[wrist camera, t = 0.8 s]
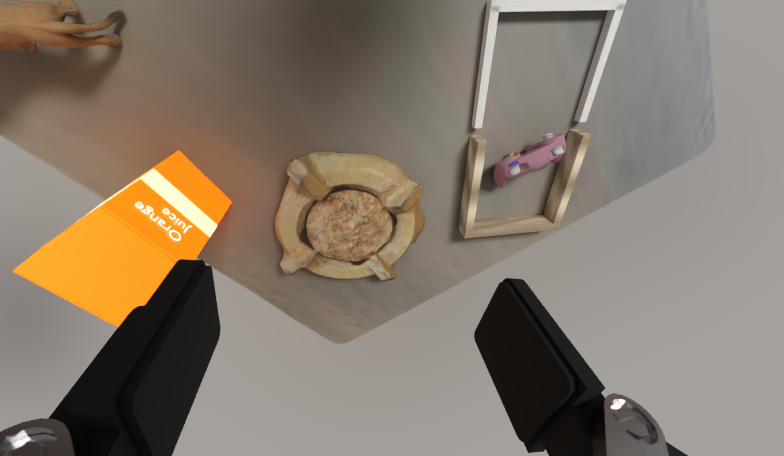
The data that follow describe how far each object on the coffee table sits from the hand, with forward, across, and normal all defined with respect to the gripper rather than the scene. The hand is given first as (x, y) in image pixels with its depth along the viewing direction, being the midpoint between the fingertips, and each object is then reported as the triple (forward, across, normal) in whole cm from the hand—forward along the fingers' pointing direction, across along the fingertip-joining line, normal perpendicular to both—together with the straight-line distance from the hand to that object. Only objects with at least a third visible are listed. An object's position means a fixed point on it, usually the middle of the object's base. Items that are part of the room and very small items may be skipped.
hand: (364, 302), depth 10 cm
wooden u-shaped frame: (+33, -27, +7) cm, 43 cm away
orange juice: (+33, +20, +14) cm, 41 cm away
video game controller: (+33, -26, +2) cm, 42 cm away
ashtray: (+33, -2, +16) cm, 37 cm away
